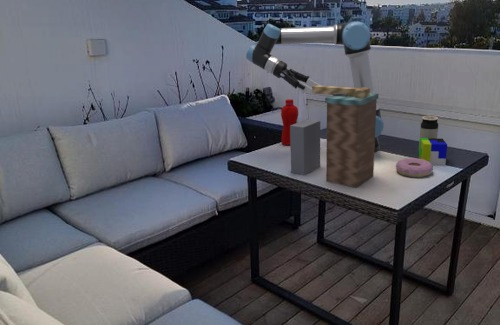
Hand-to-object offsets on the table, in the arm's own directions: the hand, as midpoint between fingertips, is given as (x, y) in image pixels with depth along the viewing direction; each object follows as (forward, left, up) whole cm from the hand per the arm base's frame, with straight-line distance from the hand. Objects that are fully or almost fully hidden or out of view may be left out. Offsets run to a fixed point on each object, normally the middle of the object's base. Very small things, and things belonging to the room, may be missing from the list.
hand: (315, 89), depth 202 cm
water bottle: (+9, -35, -35) cm, 50 cm away
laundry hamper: (-11, +24, -35) cm, 44 cm away
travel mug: (-56, -6, -35) cm, 67 cm away
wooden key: (-7, +20, +1) cm, 21 cm away
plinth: (+6, +10, -35) cm, 37 cm away
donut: (-40, +20, -36) cm, 57 cm away
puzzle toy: (-53, +7, -35) cm, 64 cm away
